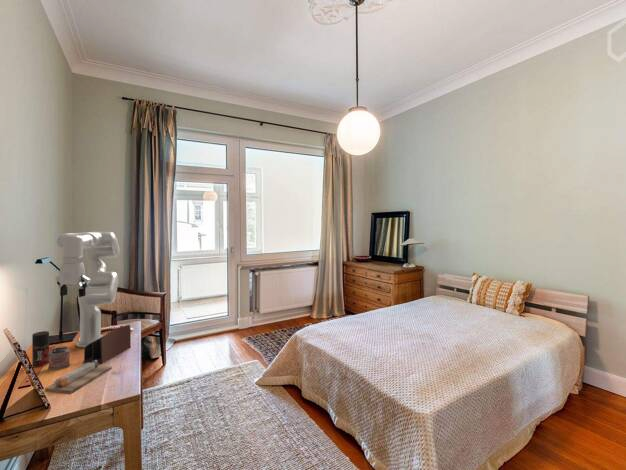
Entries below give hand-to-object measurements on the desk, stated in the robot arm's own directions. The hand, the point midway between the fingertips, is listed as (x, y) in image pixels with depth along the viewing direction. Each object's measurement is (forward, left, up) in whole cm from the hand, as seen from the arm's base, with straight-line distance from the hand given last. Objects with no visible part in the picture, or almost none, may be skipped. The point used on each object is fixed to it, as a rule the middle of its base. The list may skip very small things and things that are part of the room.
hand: (72, 295), depth 145 cm
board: (+20, +3, -33) cm, 39 cm away
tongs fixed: (+19, +2, -32) cm, 37 cm away
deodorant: (-8, -12, -34) cm, 36 cm away
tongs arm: (+20, +2, -32) cm, 38 cm away
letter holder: (-2, +15, -34) cm, 37 cm away
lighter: (+1, -5, -34) cm, 34 cm away
